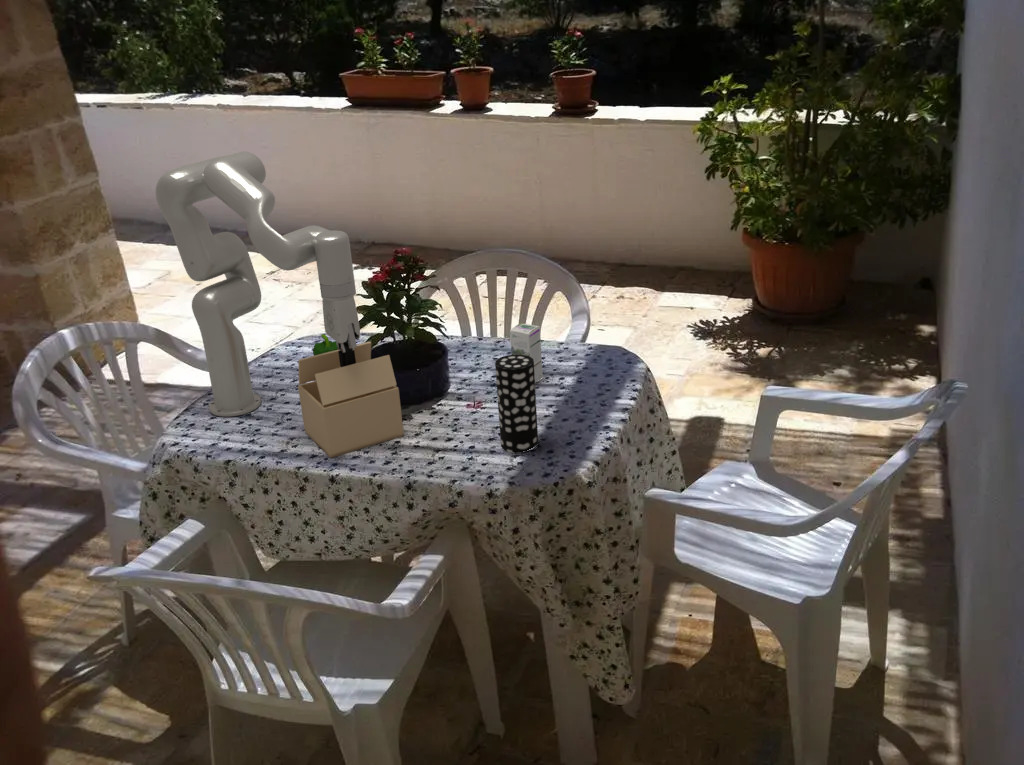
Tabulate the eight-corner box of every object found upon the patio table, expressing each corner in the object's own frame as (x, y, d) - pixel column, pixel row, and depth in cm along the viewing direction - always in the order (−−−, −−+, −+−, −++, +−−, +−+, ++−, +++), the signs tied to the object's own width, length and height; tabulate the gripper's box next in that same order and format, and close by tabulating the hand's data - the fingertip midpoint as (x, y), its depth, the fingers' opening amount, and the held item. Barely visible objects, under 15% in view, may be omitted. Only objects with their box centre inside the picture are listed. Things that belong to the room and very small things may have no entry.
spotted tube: (525, 456, 227) (520, 371, 219) (493, 448, 232) (487, 365, 224) (545, 440, 234) (540, 358, 226) (513, 433, 238) (508, 352, 230)
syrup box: (543, 378, 266) (541, 325, 260) (531, 387, 261) (528, 333, 255) (524, 374, 269) (521, 321, 263) (512, 383, 264) (508, 329, 258)
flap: (299, 384, 239) (298, 383, 240) (370, 365, 247) (369, 364, 248) (299, 361, 235) (298, 359, 235) (371, 342, 243) (370, 341, 243)
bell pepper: (348, 375, 275) (344, 339, 271) (317, 379, 274) (311, 344, 270) (345, 363, 283) (341, 329, 279) (315, 367, 281) (310, 333, 277)
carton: (305, 432, 245) (297, 385, 240) (375, 412, 253) (369, 366, 248) (330, 458, 232) (323, 409, 227) (403, 435, 240) (398, 388, 235)
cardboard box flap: (395, 385, 236) (396, 385, 235) (322, 405, 228) (323, 405, 227) (388, 354, 235) (389, 354, 235) (314, 374, 227) (315, 374, 227)
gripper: (309, 283, 231) (320, 360, 238) (334, 301, 219) (345, 381, 226) (340, 276, 234) (350, 352, 241) (367, 293, 222) (377, 372, 230)
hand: (348, 366), depth 234 cm, fingers closed
